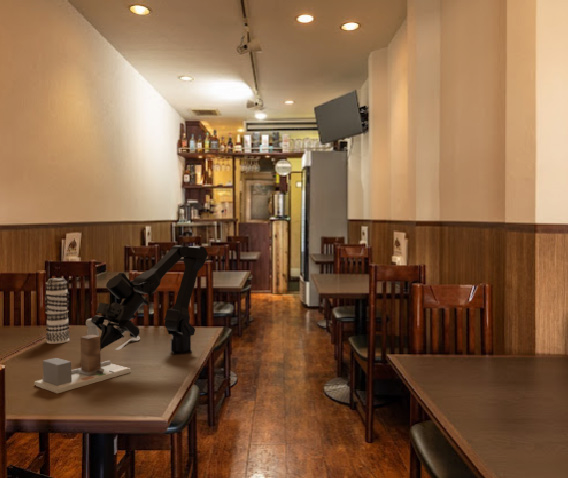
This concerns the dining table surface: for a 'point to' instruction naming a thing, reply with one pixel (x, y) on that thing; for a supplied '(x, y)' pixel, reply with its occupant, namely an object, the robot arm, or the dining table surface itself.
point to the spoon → (128, 341)
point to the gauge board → (73, 375)
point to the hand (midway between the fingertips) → (98, 348)
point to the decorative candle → (57, 311)
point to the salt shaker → (91, 328)
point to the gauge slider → (90, 355)
